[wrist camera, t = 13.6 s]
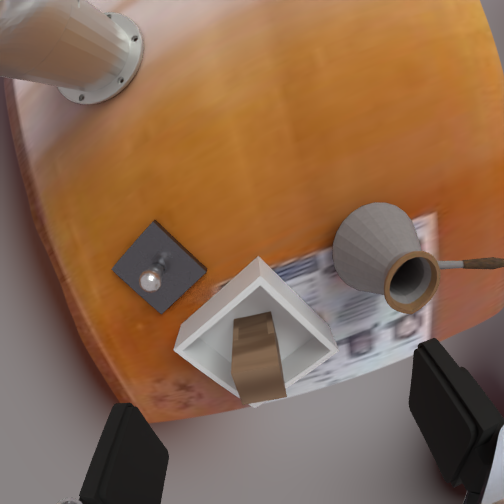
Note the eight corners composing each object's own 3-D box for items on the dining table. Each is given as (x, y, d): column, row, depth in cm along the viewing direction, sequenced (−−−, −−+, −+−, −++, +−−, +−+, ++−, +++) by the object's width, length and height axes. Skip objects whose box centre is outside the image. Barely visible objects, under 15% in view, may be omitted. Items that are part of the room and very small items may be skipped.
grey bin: (181, 324, 43) (173, 350, 37) (258, 255, 40) (260, 275, 34) (253, 380, 47) (254, 408, 41) (328, 325, 44) (339, 350, 38)
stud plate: (114, 266, 40) (98, 283, 35) (155, 219, 38) (142, 231, 33) (163, 310, 42) (153, 332, 37) (207, 268, 40) (202, 287, 35)
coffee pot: (330, 289, 42) (366, 358, 28) (322, 204, 38) (365, 243, 24) (459, 261, 41) (521, 306, 27) (461, 186, 37) (535, 212, 23)
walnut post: (233, 319, 42) (231, 373, 31) (270, 311, 41) (278, 365, 31) (242, 348, 43) (242, 404, 33) (278, 341, 43) (286, 396, 33)
